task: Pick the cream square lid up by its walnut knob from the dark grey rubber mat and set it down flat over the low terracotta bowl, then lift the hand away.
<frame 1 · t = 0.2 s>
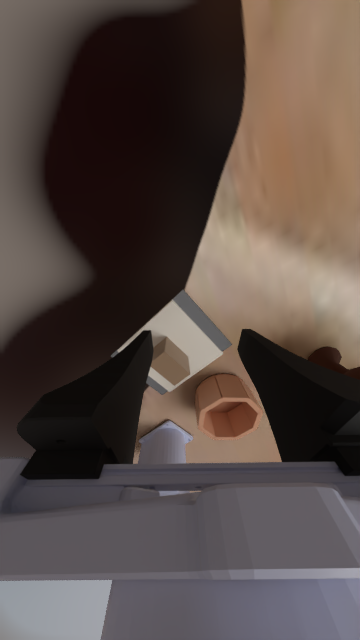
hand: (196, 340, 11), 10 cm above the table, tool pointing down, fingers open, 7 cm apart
lid: (171, 350, 23), resting on mat
bowl: (220, 394, 28), on the table
mat: (171, 348, 24), on the table
ice cream bowl: (321, 359, 25), on the table
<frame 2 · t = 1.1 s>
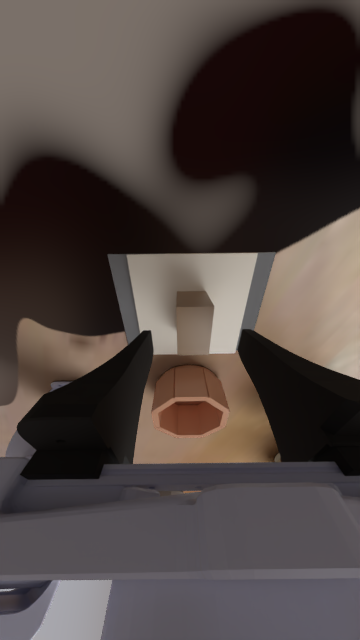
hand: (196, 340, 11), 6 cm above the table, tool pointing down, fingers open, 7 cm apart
lid: (190, 310, 16), resting on mat
bowl: (188, 386, 23), on the table
tankard: (168, 495, 55), on the table
mat: (190, 309, 17), on the table
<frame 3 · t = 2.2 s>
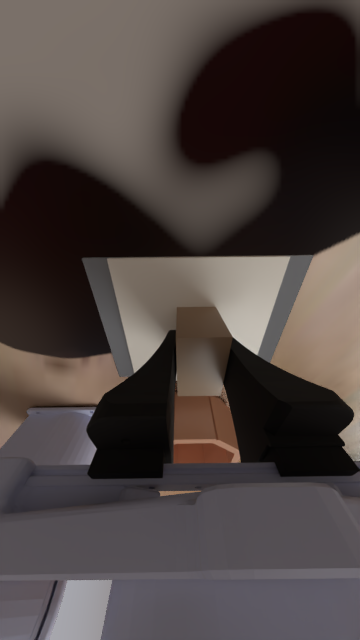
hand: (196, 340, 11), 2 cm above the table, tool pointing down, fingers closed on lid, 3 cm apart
lid: (194, 329, 13), resting on mat, touching gripper
bowl: (190, 412, 20), on the table
mat: (193, 327, 13), on the table
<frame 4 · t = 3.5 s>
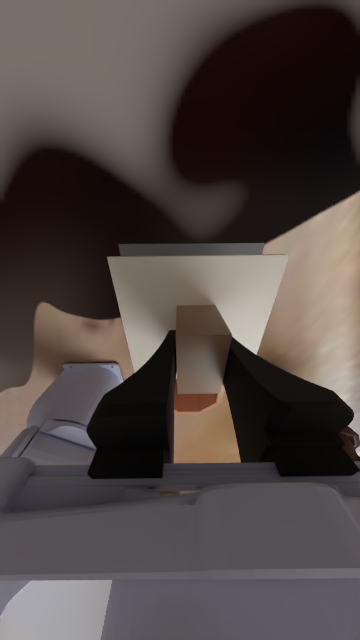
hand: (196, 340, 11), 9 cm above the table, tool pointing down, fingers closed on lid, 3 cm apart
lid: (194, 328, 13), point 7 cm above the table, touching gripper
bowl: (187, 369, 26), on the table
mat: (189, 295, 19), on the table
ice cream bowl: (276, 388, 29), on the table
when the fingers open (7 cm above the table, at t = 4.9 s): lid stays where it is, resting on bowl.
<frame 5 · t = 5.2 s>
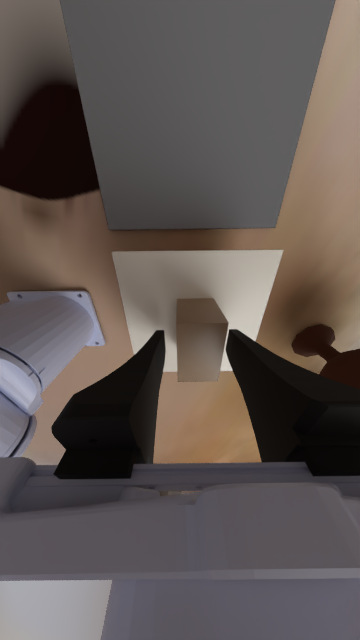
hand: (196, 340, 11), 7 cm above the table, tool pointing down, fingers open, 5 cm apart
lid: (193, 321, 13), point 5 cm above the table, touching bowl
mat: (194, 137, 11), on the table
ice cream bowl: (310, 339, 21), on the table
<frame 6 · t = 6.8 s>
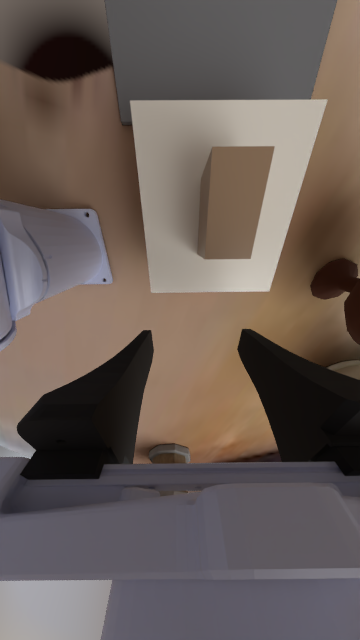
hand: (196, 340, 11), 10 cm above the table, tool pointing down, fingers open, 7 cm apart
lid: (215, 221, 12), point 5 cm above the table, touching bowl
kettle: (332, 379, 30), on the table
tankard: (172, 456, 49), on the table
ice cream bowl: (330, 279, 20), on the table
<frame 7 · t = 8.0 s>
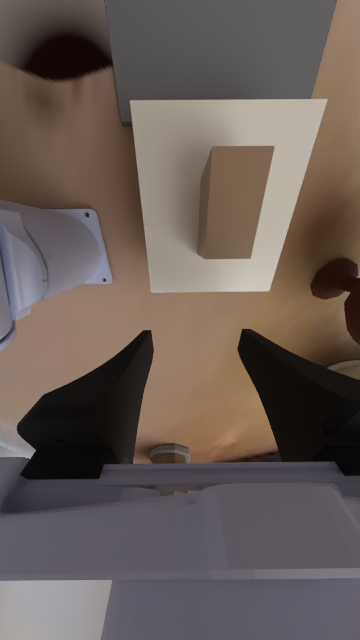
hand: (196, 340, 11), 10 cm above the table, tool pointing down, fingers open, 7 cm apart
lid: (215, 221, 12), point 5 cm above the table, touching bowl
kettle: (332, 379, 30), on the table
tankard: (172, 456, 49), on the table
ice cream bowl: (331, 279, 20), on the table
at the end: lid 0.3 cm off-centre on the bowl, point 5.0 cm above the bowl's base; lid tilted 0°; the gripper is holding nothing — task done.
